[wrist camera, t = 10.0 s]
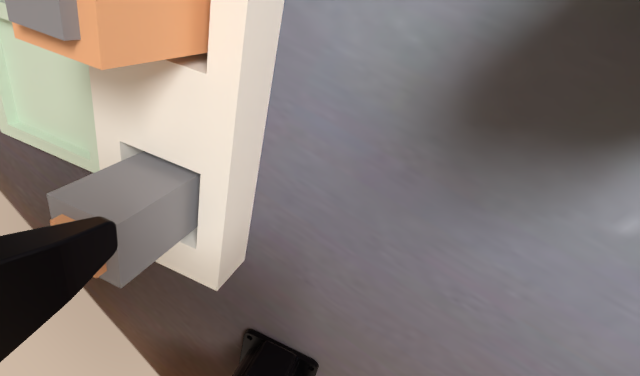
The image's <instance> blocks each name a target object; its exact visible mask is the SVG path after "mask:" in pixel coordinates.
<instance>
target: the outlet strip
mask: <svg viewBox="0 0 640 376" xmlns="http://www.w3.org/2000/svg"><path fill="white" fill-rule="evenodd" d="M283 7H284V0H211V5H210V22H209V39H208V53H202V54H196V55H190V56H184V57H178V58H172V59H166V60H160V61H154V62H148V63H142V64H136V65H130V66H124V67H118V68H112V69H105V70H100V69H97V68H95V67H92V66H89V74H90V84H91V93H92V102H93V112H94V121H95V130H96V139H97V149H98V158H99V167H100V170H102V169H104V168H107V167H109V166H111V165H113V164H116V163H118V162H120V161H122V160H125V159H127V158H129V157H132V156H134V155H136V154H138V153H141V152H143V151H145V152H148V153H150V154H153V155H155V156H157V157H160V158H162V159H165V160H167V161H170V162H172V163H175V164H177V165H179V166H182V167H184V168H187V169H189V170H192V171H194V172H196V173H199V174H201V176H200V193H199V210H198V227H196V228H195V229H194V230H193V231H192V232H190V233H189V234H188V235H187V236H185V237H184V238H183V239H182V240H180V241H179V242H178V243H177V244H175V245H174V246H173V247H172V248H171V249H169V250H168V251H167V252H166V253H164V254H163V255H162V256H161V257H159V258H158V259H157V260H156V261H155V262H157V263H159V264H161V265H163V266H165V267H168V268H170V269H172V270H174V271H176V272H178V273H180V274H182V275H184V276H186V277H188V278H190V279H193V280H195V281H197V282H199V283H201V284H203V285H205V286H207V287H209V288H211V289H213V290H215V291H218V290H219V288H220V287H221V286H222V285H223V284H224V283H225V282H226V280H227V279H228V278H229V277H230V276H231V275H232V274H233V273H234V271H235V270H236V269H237V268H238V267H239V266H240V265H241V263H242V262H243V261H244V260H245V255H246V248H247V242H248V235H249V229H250V222H251V216H252V209H253V203H254V196H255V190H256V183H257V176H258V170H259V163H260V157H261V150H262V144H263V137H264V131H265V124H266V118H267V111H268V105H269V98H270V92H271V85H272V78H273V72H274V65H275V59H276V52H277V46H278V39H279V33H280V26H281V20H282V13H283Z"/></svg>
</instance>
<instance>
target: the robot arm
mask: <svg viewBox="0 0 640 376" xmlns="http://www.w3.org/2000/svg"><path fill="white" fill-rule="evenodd" d="M117 248H118V238H117V227H116V224H115V222H114V221H112V220H110V219H107V218H105V217H103V216H96V217H91V218H86V219H81V220H76V221H71V222H67V223H62V224H57V225H52V226H47V227H42V228H37V229H32V230H27V231H23V232H18V233H13V234H8V235H3V236H0V362H1V361H2V360H3V359H4V358H6V357H7V356H8V355H9V354H10V353H11V352H12V351H14V350H15V349H16V348H17V347H18V346H19V345H20V344H21V343H23V342H24V341H25V340H26V339H27V338H28V337H29V336H31V335H32V334H33V333H34V332H35V331H36V330H37V329H38V328H40V327H41V326H42V325H43V324H44V323H45V322H46V321H48V320H49V319H50V318H51V317H52V316H53V315H54V314H55V313H57V312H58V311H59V310H60V309H61V308H62V307H63V306H64V305H65V304H67V303H68V302H69V301H70V300H71V299H72V298H73V297H74V296H75V295H76V294H77V293H78V292H79V291H80V290H81V289H82V288H83V287H84V285H85V284H86V283H87V282H88V281H89V280H90V279H91V278H92V277H93V276H94V275H95V274H96V273H97V272H98V271H99V270H100V269H101V268H102V266H103V265H104V264H105V263H106V262H107V261H108V260H109V259H110V258H111V257H112V256H113V255H114V254H115V252H116V250H117ZM318 367H319V365H318V363H317V362H316V361H314V360H312V359H310V358H308V357H306V356H304V355H302V354H300V353H298V352H296V351H294V350H292V349H290V348H288V347H286V346H284V345H282V344H280V343H278V342H276V341H274V340H272V339H270V338H268V337H266V336H264V335H262V334H260V333H258V332H256V331H254V330H251V329H249V330H247V332H246V333H245V335H244V340H243V345H242V351H241V357H240V362H239V366H238V367H237V369H236V370H235V372H234V374H233V375H232V376H315V375H316V372H317V370H318Z"/></svg>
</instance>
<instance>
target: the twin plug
mask: <svg viewBox="0 0 640 376" xmlns="http://www.w3.org/2000/svg"><path fill="white" fill-rule="evenodd" d="M200 176H201V174H199V173H196V172H194V171H192V170H189V169H187V168H184V167H182V166H179V165H177V164H175V163H172V162H170V161H167V160H165V159H162V158H160V157H157V156H155V155H153V154H150V153H148V152H145V151H143V152H141V153H138V154H136V155H134V156H132V157H129V158H127V159H125V160H122V161H120V162H118V163H116V164H113V165H111V166H109V167H107V168H104V169H102V170H100V171H97V172H95V173H93V174H91V175H88V176H86V177H84V178H81V179H79V180H77V181H75V182H72V183H70V184H68V185H66V186H63V187H61V188H59V189H56V190H54V191H52V192H50V193H47V199H48V204H49V209H50V214H51V220H50V224H51V226H52V225H57V224H62V223H67V222H71V221H76V220H81V219H86V218H91V217H96V216H103V217H105V218H107V219H110V220H112V221H114V222H115V224H116V227H117V238H118V248H117V250H116V252H115V254H114V255H113V256H112V257H111V258H110V259H109V260H108V261H107V262H106V263H105V264H104V265H103V266H102V268H101V269H100V270H99V271H98V272H97V273H96V274H95V275H94V276H93V277H95V278H98V277H99V278H101V279H103V280H105V281H107V282H109V283H111V284H113V285H115V286H117V287H119V288H122V287H124V286H125V285H126V284H127V283H129V282H130V281H131V280H132V279H134V278H135V277H136V276H137V275H138V274H140V273H141V272H142V271H143V270H145V269H146V268H147V267H148V266H150V265H151V264H152V263H153V262H155V261H156V260H157V259H158V258H159V257H161V256H162V255H163V254H164V253H166V252H167V251H168V250H169V249H171V248H172V247H173V246H174V245H175V244H177V243H178V242H179V241H180V240H182V239H183V238H184V237H185V236H187V235H188V234H189V233H190V232H192V231H193V230H194V229H195V228H196V227H198V210H199V193H200Z"/></svg>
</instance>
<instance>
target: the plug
mask: <svg viewBox="0 0 640 376" xmlns="http://www.w3.org/2000/svg"><path fill="white" fill-rule="evenodd" d="M5 3H6V8H7V13H8V18H9V21H11V22H12V25H13V30H14V35H15V38H17V39H20V40H22V41H25V42H28V43H30V44H33V45H36V46H38V47H41V48H44V49H46V50H49V51H52V52H55V53H57V54H60V55H63V56H65V57H68V58H71V59H73V60H76V61H79V62H81V63H84V64H87V65H89V66H92V67H95V68H97V69H100V70H105V69H112V68H118V67H124V66H130V65H136V64H142V63H148V62H154V61H160V60H166V59H172V58H178V57H184V56H190V55H196V54H202V53H208V39H209V22H210V5H211V0H5Z"/></svg>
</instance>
